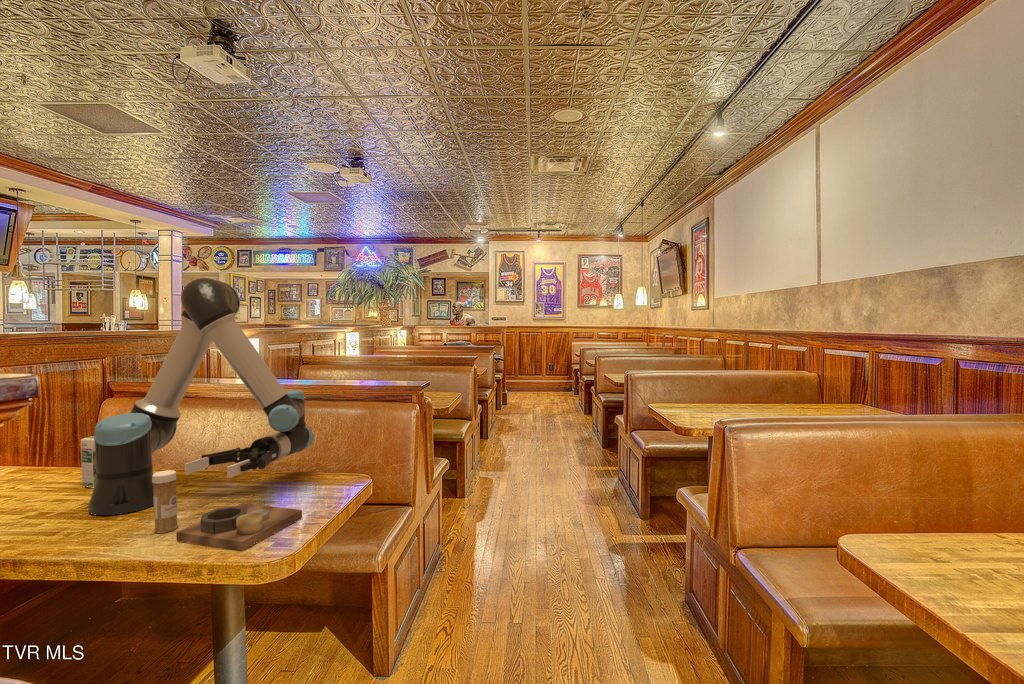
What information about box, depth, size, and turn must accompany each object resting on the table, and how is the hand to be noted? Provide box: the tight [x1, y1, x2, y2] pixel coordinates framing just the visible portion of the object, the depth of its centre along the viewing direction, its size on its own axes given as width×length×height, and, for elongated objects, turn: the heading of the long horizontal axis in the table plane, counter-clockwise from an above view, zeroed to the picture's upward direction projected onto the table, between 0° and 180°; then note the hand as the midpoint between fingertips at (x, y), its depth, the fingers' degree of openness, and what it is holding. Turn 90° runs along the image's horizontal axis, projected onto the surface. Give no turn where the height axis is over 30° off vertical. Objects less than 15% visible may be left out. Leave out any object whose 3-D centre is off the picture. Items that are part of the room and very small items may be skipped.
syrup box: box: [80, 435, 97, 487], centre depth 146 cm, size 6×6×14 cm
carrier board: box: [175, 502, 303, 552], centre depth 114 cm, size 18×18×5 cm
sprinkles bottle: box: [152, 469, 179, 534], centre depth 114 cm, size 5×5×14 cm
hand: (206, 470), depth 124 cm, fingers open, 13 cm apart
